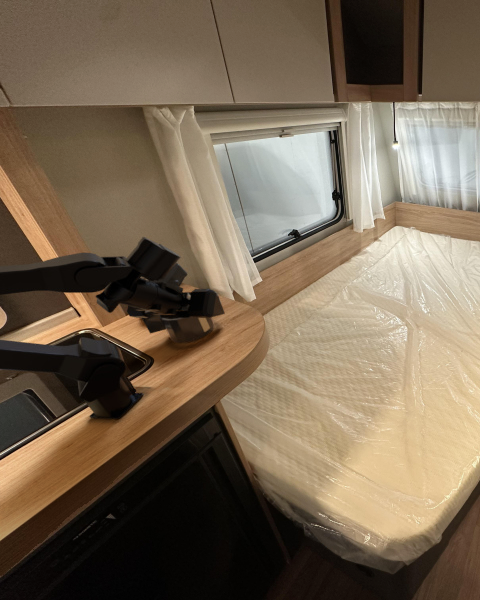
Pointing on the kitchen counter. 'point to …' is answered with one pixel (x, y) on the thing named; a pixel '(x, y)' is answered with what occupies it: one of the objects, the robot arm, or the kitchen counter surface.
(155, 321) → the pot
